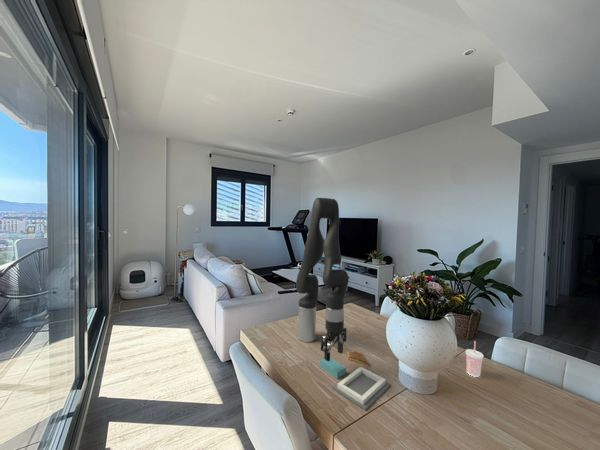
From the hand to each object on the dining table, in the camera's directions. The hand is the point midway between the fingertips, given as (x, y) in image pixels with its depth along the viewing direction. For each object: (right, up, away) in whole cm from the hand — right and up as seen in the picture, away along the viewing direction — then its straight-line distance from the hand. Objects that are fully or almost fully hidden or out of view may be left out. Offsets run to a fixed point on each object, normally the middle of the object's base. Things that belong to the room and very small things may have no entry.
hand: (333, 356), depth 103 cm
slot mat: (+9, -7, -9) cm, 15 cm away
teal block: (-1, -6, +1) cm, 6 cm away
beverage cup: (+58, -8, 0) cm, 59 cm away
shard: (+13, -7, +10) cm, 18 cm away
